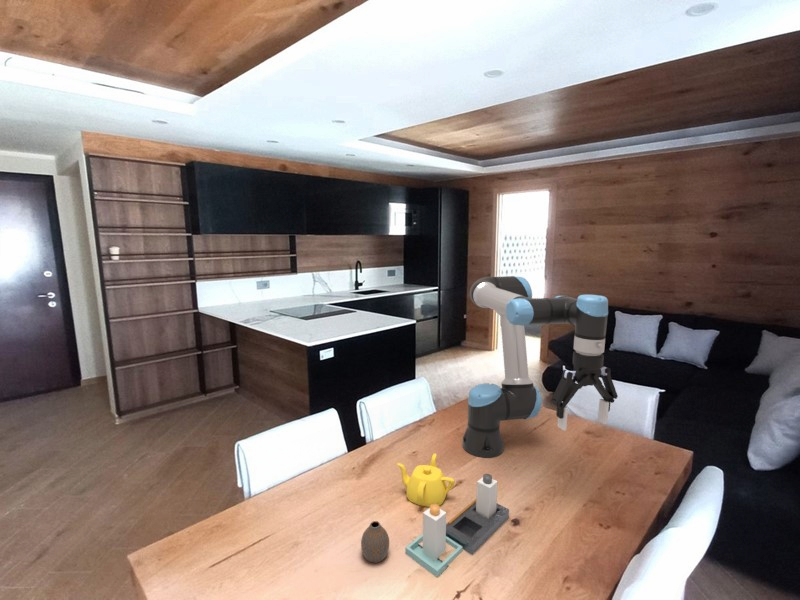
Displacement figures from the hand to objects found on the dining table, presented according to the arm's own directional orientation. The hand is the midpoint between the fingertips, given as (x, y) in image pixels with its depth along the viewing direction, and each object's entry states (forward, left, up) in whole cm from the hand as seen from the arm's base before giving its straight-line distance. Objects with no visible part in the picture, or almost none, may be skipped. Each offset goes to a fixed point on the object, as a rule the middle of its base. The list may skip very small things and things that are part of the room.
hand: (582, 425), depth 109 cm
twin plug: (-16, -23, -25) cm, 37 cm away
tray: (-19, -42, -26) cm, 53 cm away
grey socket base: (-16, -27, -26) cm, 41 cm away
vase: (-29, -52, -26) cm, 65 cm away
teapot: (-35, -26, -26) cm, 51 cm away
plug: (-19, -42, -25) cm, 52 cm away
